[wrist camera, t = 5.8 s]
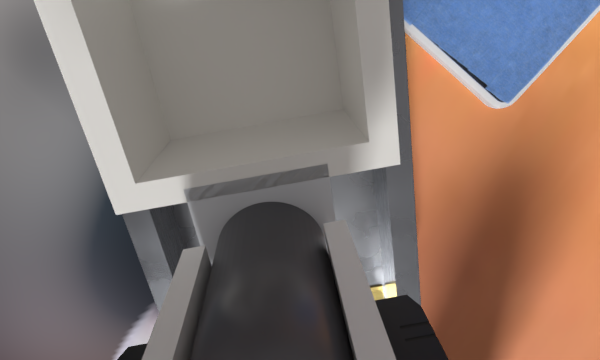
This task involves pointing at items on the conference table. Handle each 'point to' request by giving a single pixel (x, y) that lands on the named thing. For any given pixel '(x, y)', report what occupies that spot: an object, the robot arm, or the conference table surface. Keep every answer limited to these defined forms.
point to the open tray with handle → (238, 143)
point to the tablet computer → (496, 39)
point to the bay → (347, 206)
